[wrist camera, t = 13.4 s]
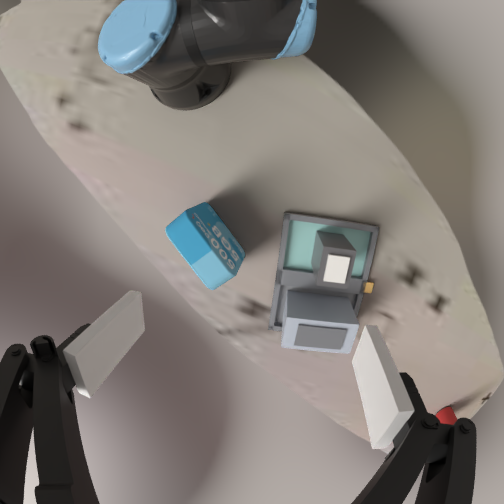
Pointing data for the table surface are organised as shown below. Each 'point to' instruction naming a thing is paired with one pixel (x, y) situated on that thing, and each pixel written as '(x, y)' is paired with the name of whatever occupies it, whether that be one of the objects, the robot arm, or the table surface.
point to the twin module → (318, 323)
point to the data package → (206, 245)
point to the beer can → (446, 416)
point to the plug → (332, 260)
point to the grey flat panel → (300, 255)
